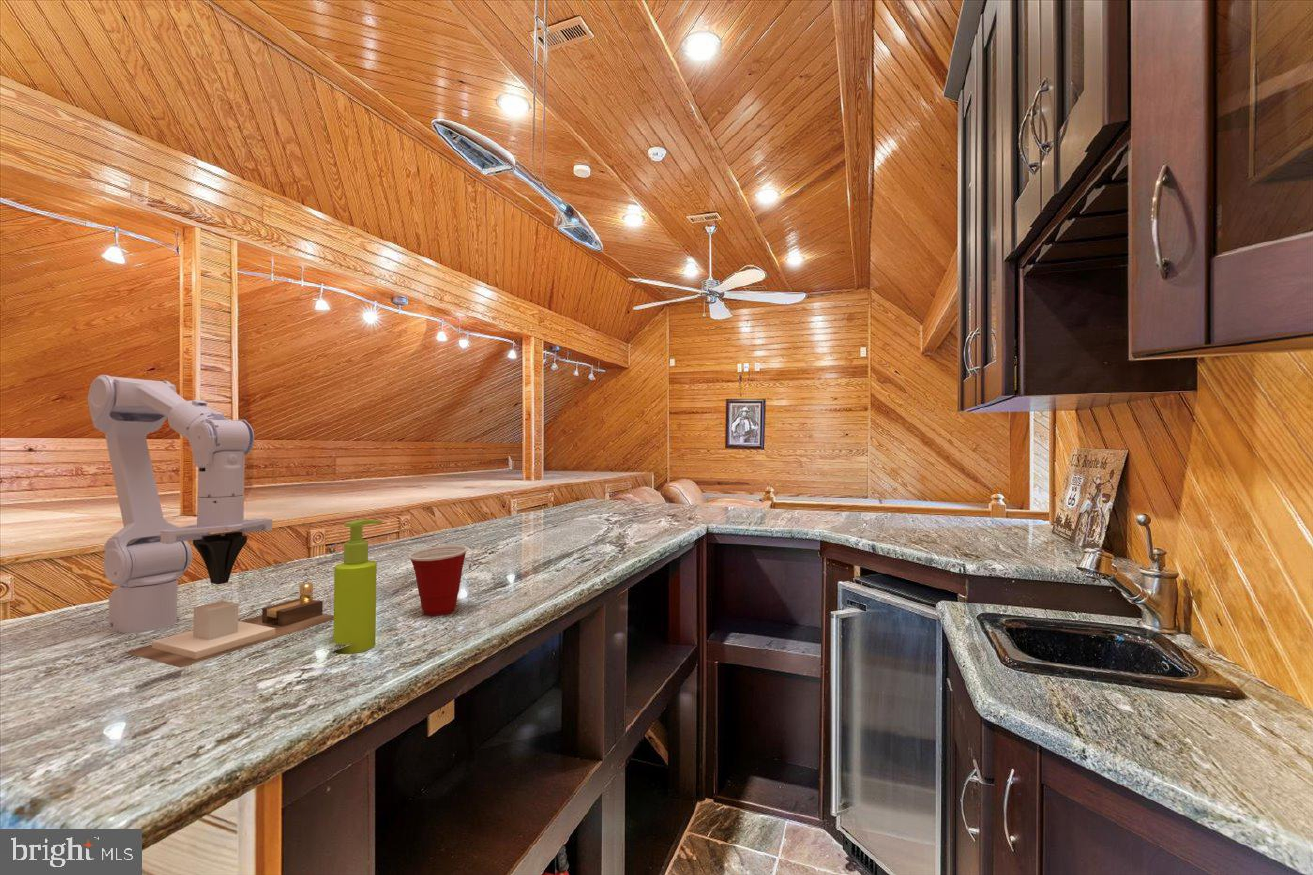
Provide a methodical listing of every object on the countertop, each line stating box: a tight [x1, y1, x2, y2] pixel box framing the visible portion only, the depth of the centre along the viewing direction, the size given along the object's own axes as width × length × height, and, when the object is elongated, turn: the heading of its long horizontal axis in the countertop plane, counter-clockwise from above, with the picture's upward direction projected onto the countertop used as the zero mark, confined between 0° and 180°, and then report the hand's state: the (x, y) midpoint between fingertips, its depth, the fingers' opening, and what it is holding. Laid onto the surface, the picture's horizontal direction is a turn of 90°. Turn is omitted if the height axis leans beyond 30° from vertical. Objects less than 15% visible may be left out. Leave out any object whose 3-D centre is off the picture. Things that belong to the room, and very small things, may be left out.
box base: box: [124, 597, 334, 669], centre depth 88 cm, size 14×24×4 cm, turn 158°
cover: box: [151, 600, 275, 659], centre depth 84 cm, size 11×11×6 cm
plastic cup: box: [407, 544, 469, 617], centre depth 105 cm, size 11×11×12 cm
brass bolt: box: [267, 582, 317, 618], centre depth 95 cm, size 2×7×4 cm, turn 158°
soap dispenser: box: [332, 518, 383, 655], centre depth 87 cm, size 6×7×20 cm
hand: (219, 582), depth 85 cm, fingers closed
